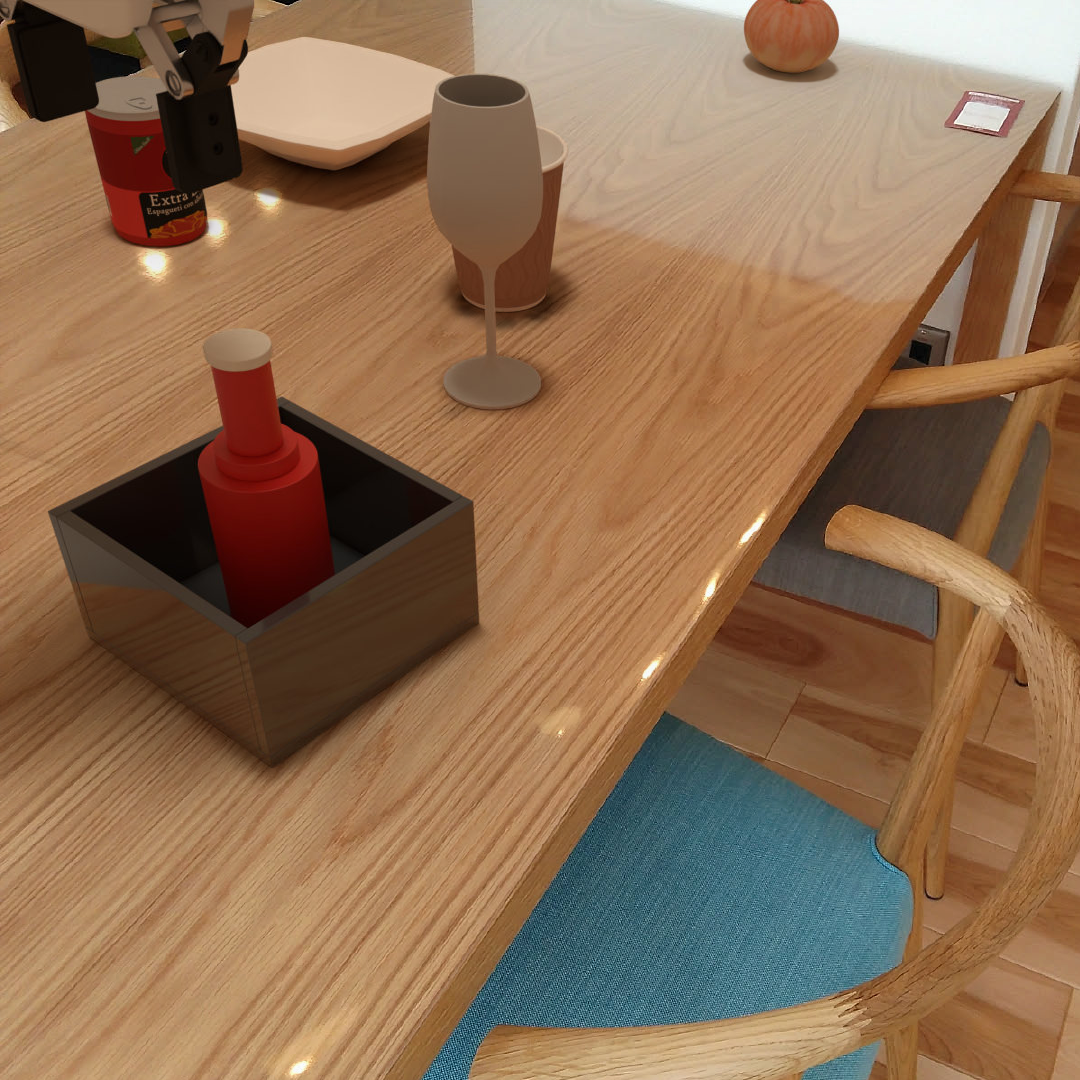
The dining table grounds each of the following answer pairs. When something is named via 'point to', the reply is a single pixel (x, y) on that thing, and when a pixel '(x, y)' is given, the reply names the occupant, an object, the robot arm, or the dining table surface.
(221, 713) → the dark square storage bin
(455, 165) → the wineglass
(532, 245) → the coffee cup
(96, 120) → the canned food
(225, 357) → the bottle
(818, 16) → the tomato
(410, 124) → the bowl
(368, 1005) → the dining table surface
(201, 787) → the dining table surface
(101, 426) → the dining table surface
